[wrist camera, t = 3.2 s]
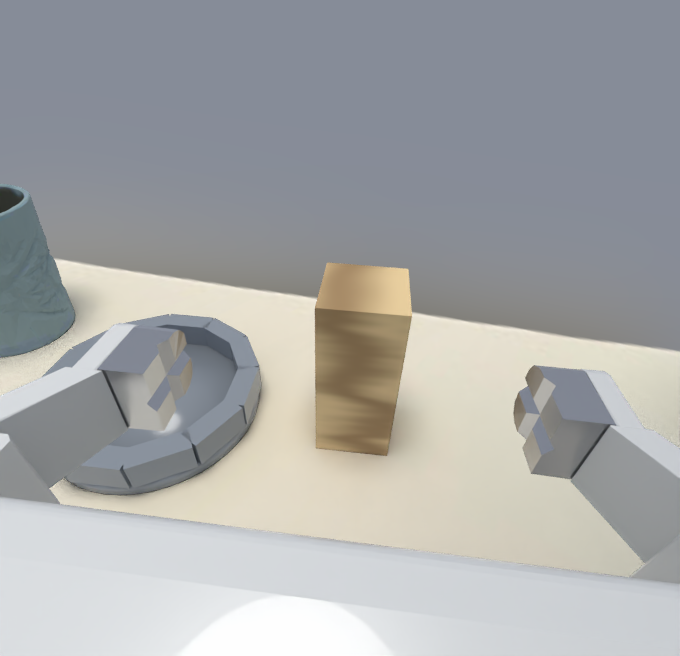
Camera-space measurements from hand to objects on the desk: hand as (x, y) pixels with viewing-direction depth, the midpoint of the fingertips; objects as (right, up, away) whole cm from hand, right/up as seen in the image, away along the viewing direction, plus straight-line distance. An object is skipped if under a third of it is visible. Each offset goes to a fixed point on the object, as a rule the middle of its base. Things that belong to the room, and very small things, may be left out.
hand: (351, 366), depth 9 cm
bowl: (-14, -5, +21) cm, 26 cm away
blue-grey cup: (-30, +1, +28) cm, 41 cm away
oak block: (+1, -6, +20) cm, 21 cm away
